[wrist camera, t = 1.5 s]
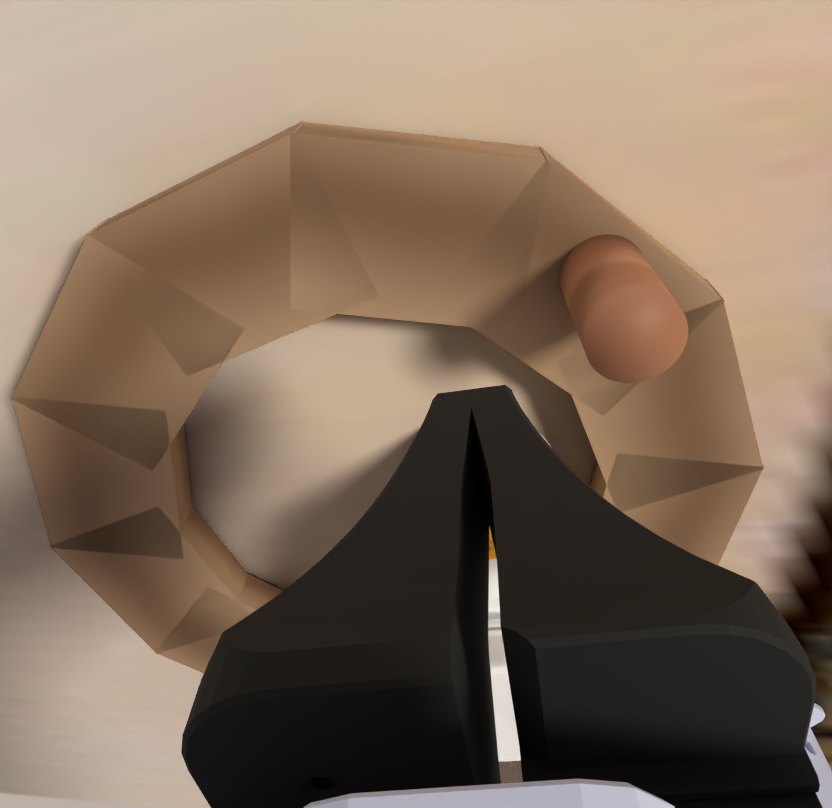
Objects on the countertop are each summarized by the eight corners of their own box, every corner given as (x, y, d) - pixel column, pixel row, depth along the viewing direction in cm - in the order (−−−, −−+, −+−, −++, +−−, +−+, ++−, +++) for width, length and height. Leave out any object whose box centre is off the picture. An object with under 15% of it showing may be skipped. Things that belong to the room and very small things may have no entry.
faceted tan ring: (888, 425, 24) (997, 536, 19) (453, 750, 35) (455, 870, 31) (251, -87, 17) (179, -107, 12) (-41, 532, 28) (-137, 645, 23)
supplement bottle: (389, 502, 27) (366, 756, 18) (434, 386, 24) (433, 623, 15) (522, 537, 28) (560, 796, 19) (582, 428, 25) (659, 677, 16)
